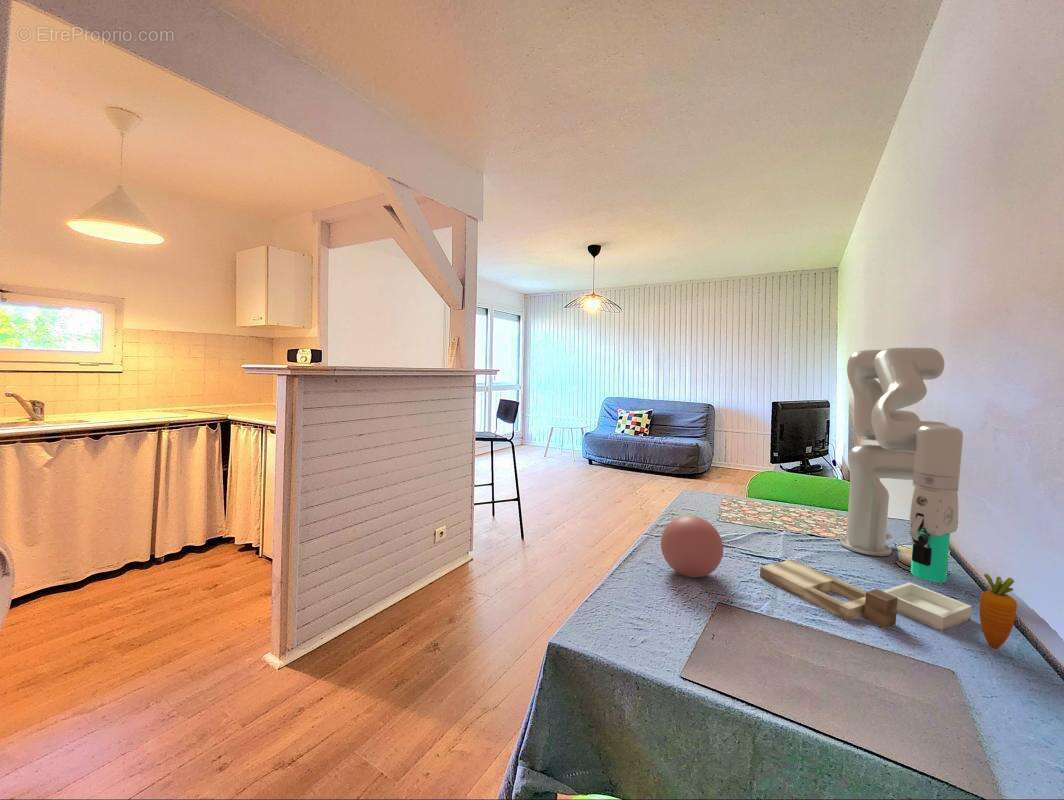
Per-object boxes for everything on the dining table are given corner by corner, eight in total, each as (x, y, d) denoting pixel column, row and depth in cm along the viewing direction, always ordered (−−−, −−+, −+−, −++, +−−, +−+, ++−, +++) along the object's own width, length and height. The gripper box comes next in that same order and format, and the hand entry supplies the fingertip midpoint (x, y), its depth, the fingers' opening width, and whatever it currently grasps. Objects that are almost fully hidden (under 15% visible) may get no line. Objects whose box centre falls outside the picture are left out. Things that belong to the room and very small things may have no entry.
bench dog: (874, 614, 99) (876, 588, 99) (895, 624, 96) (897, 597, 95) (863, 618, 98) (865, 592, 97) (884, 628, 94) (886, 601, 94)
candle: (953, 583, 96) (957, 529, 95) (920, 580, 98) (924, 526, 97) (935, 571, 102) (939, 520, 101) (904, 568, 103) (908, 517, 103)
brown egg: (740, 570, 120) (743, 514, 119) (702, 595, 107) (705, 532, 106) (688, 552, 131) (690, 501, 130) (648, 572, 118) (650, 515, 117)
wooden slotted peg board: (791, 568, 122) (791, 559, 122) (881, 608, 102) (882, 598, 102) (759, 576, 117) (760, 566, 117) (848, 620, 97) (849, 609, 97)
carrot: (968, 641, 90) (975, 569, 89) (991, 640, 90) (998, 569, 89) (996, 658, 85) (1003, 582, 84) (1019, 656, 85) (1027, 581, 84)
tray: (908, 594, 109) (909, 582, 108) (970, 619, 98) (971, 606, 98) (880, 603, 104) (881, 591, 104) (941, 631, 93) (943, 617, 93)
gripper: (934, 489, 92) (927, 575, 93) (977, 482, 99) (970, 561, 100) (893, 480, 99) (887, 560, 100) (935, 474, 105) (929, 549, 107)
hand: (928, 560), depth 100 cm, fingers closed on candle, 5 cm apart
